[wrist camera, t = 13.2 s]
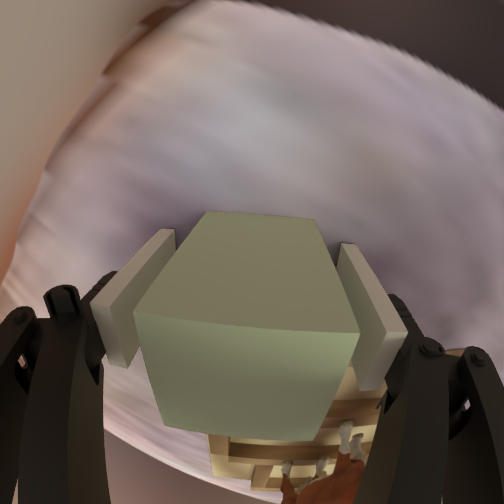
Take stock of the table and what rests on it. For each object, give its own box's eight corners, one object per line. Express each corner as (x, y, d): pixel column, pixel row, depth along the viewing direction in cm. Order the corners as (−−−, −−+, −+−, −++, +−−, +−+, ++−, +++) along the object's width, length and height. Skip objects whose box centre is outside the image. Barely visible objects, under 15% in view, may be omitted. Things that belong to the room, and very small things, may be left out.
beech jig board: (468, 348, 16) (482, 369, 13) (373, 468, 25) (375, 483, 22) (201, 346, 16) (192, 375, 14) (214, 469, 26) (211, 485, 23)
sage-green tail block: (314, 219, 13) (360, 332, 6) (299, 308, 15) (312, 440, 8) (207, 210, 13) (132, 311, 6) (207, 300, 15) (164, 425, 8)
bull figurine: (419, 401, 15) (450, 497, 7) (302, 472, 20) (303, 544, 12) (383, 389, 14) (413, 507, 7) (263, 464, 19) (258, 543, 12)
